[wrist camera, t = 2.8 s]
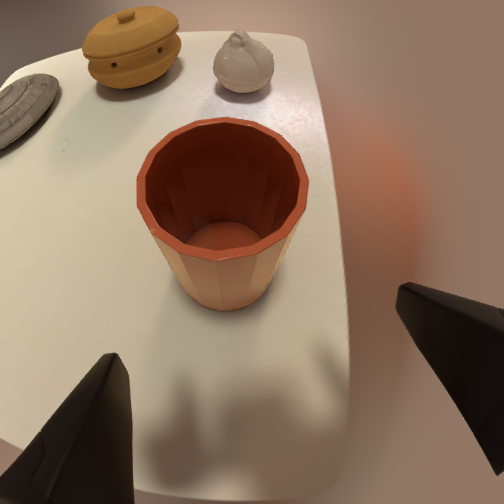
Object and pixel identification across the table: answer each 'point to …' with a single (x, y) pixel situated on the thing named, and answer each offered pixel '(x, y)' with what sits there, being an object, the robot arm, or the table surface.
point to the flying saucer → (24, 105)
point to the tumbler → (223, 207)
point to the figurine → (243, 63)
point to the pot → (132, 47)
